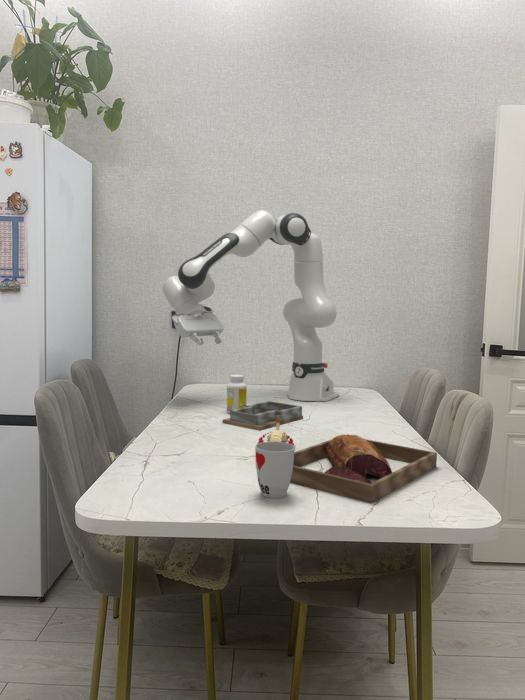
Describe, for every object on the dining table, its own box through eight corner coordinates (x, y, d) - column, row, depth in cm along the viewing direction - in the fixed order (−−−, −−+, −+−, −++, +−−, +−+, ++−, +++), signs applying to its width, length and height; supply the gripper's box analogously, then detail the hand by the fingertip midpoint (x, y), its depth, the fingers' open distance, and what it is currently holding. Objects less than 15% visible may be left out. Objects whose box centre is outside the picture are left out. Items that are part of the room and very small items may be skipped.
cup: (253, 487, 127) (253, 441, 126) (290, 487, 128) (292, 441, 127) (255, 501, 119) (256, 451, 118) (296, 500, 120) (297, 451, 119)
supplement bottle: (247, 411, 207) (248, 374, 206) (245, 415, 201) (245, 377, 199) (228, 410, 208) (228, 373, 207) (225, 414, 201) (225, 376, 200)
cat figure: (259, 444, 168) (253, 462, 143) (260, 413, 168) (254, 426, 143) (295, 446, 168) (294, 464, 143) (296, 415, 167) (295, 427, 142)
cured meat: (321, 490, 127) (323, 458, 126) (308, 457, 152) (309, 431, 151) (405, 492, 128) (407, 461, 127) (378, 459, 153) (380, 433, 152)
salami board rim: (343, 447, 161) (343, 435, 160) (436, 466, 145) (436, 452, 144) (268, 476, 135) (268, 461, 135) (371, 503, 119) (372, 486, 119)
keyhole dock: (267, 412, 206) (267, 400, 206) (303, 418, 197) (303, 406, 197) (222, 422, 188) (222, 410, 188) (259, 430, 179) (260, 417, 179)
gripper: (174, 308, 205) (194, 338, 200) (214, 308, 221) (234, 336, 216) (165, 320, 208) (184, 351, 203) (205, 319, 224) (224, 347, 219)
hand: (210, 343), depth 209 cm, fingers open, 8 cm apart
